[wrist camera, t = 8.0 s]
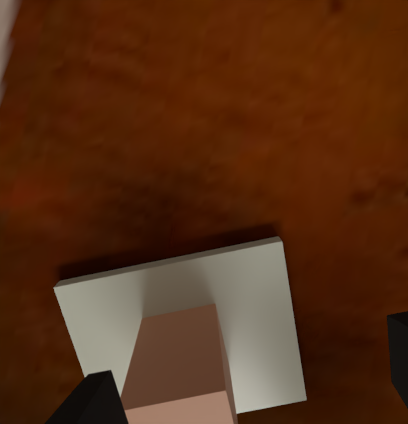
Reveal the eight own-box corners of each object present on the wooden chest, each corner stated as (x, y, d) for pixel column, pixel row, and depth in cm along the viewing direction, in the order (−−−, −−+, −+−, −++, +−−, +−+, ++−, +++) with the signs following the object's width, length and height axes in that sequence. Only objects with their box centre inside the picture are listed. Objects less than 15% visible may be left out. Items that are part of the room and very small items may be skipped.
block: (215, 303, 18) (225, 390, 12) (229, 366, 18) (245, 475, 13) (142, 318, 18) (116, 411, 12) (159, 380, 19) (144, 494, 13)
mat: (278, 236, 18) (282, 241, 17) (302, 389, 20) (306, 399, 19) (59, 280, 18) (53, 287, 17) (109, 426, 20) (106, 438, 19)
